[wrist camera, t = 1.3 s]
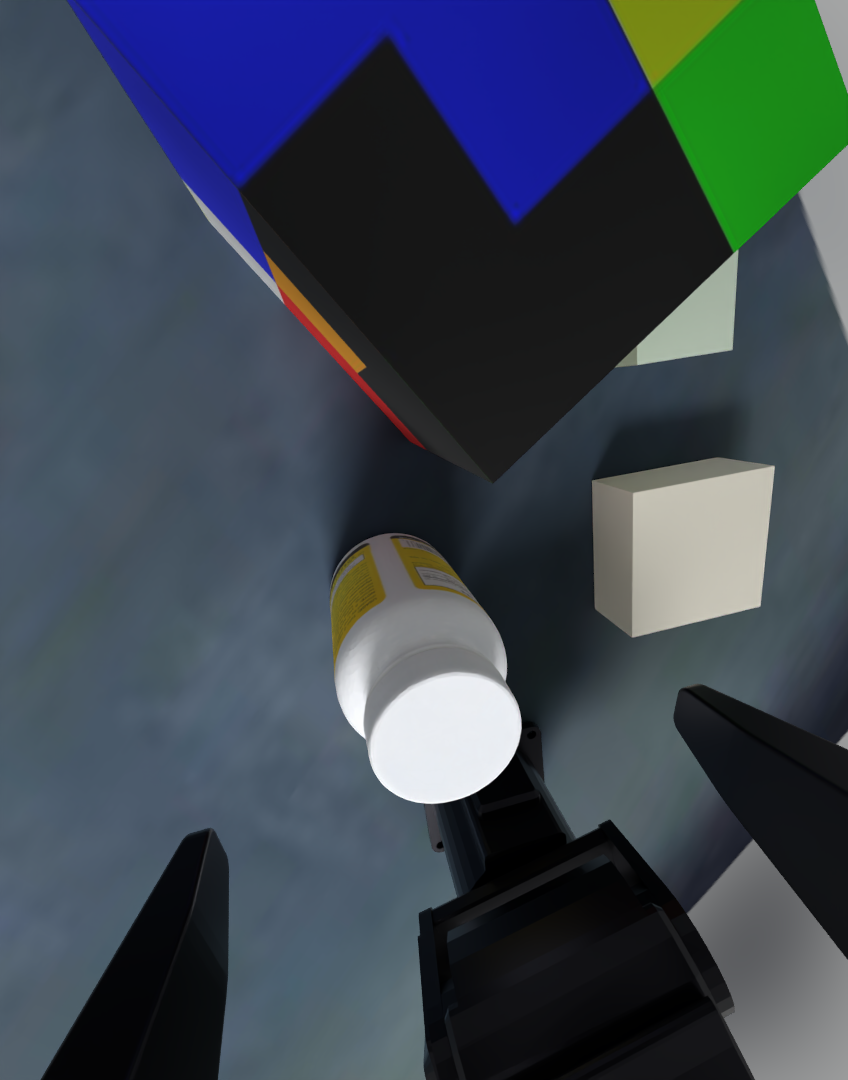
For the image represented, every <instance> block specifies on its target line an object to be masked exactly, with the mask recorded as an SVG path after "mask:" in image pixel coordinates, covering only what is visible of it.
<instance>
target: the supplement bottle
mask: <svg viewBox="0 0 848 1080" xmlns="http://www.w3.org/2000/svg"><path fill="white" fill-rule="evenodd" d="M330 611H331V621H332V640H333V656H334V676H335V685H336V692H337V696H338V700H339V703H340V706H341V708H342V710H343V712H344V714H345V716H346V718H347V720H348V721H349V723H350V724H351V726H352V727H353V728H354V729H355V730H356V731H357V732H358V733H359V734H360V735H361V736H363V737H364V738H365V739H366V742H367V748H368V754H369V759H370V763H371V766H372V768H373V771H374V773H375V775H376V776H377V778H378V779H379V781H380V782H381V783H382V784H383V785H384V786H385V787H386V788H387V789H388V790H390V791H391V792H393V793H394V794H396V795H397V796H399V797H402V798H404V799H407V800H410V801H413V802H418V803H426V804H433V803H445V802H450V801H454V800H458V799H461V798H464V797H467V796H469V795H471V794H473V793H475V792H477V791H479V790H480V789H482V788H483V787H485V786H486V785H488V784H489V783H490V782H492V781H493V780H494V779H495V778H497V777H498V775H499V774H500V773H501V772H502V771H503V770H504V769H505V768H506V766H507V765H508V764H509V762H510V761H511V759H512V757H513V756H514V754H515V751H516V749H517V746H518V743H519V740H520V734H521V729H522V725H521V714H520V710H519V706H518V703H517V701H516V699H515V697H514V695H513V694H512V692H511V690H510V689H509V687H508V685H507V684H506V682H505V681H506V676H507V658H506V652H505V648H504V644H503V641H502V639H501V636H500V634H499V632H498V630H497V628H496V627H495V625H494V623H493V621H492V620H491V618H490V617H489V616H488V615H487V613H486V612H485V611H484V609H483V608H482V607H481V606H480V604H479V603H478V602H477V600H476V599H475V598H474V596H473V595H472V594H471V592H470V591H469V590H468V589H467V587H466V586H465V585H464V583H463V582H462V581H461V579H460V578H459V577H458V575H457V574H456V573H455V572H454V570H453V569H452V568H451V566H450V565H449V564H448V562H447V561H446V560H445V558H444V557H443V556H442V555H441V554H440V553H439V552H438V551H437V550H436V549H435V548H434V547H433V546H431V545H430V544H429V543H427V542H426V541H424V540H422V539H420V538H417V537H415V536H411V535H408V534H401V533H389V534H382V535H378V536H374V537H371V538H369V539H367V540H365V541H363V542H361V543H359V544H358V545H356V546H355V547H354V548H352V549H351V550H350V551H349V552H348V553H347V554H346V555H345V556H344V557H343V559H342V560H341V561H340V563H339V565H338V566H337V568H336V570H335V573H334V575H333V578H332V582H331V587H330Z"/></svg>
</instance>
